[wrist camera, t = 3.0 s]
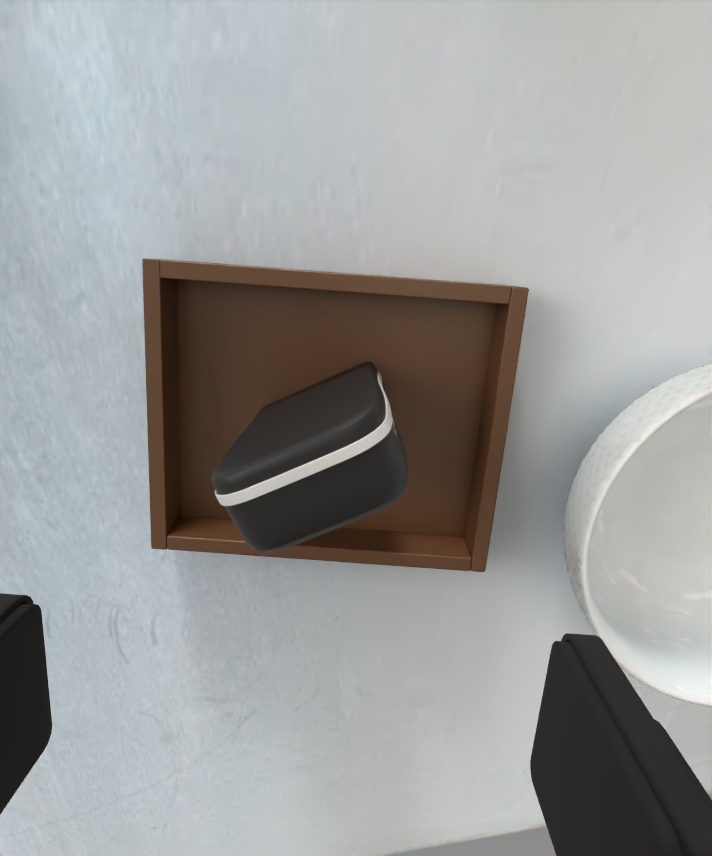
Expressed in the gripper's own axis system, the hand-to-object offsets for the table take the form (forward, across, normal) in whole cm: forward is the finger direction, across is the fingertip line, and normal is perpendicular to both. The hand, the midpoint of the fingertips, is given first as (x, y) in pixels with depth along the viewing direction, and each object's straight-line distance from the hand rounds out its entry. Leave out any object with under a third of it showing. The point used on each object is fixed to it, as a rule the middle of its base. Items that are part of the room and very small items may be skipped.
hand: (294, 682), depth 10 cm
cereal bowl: (+21, -19, +3) cm, 29 cm away
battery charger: (+20, +1, 0) cm, 20 cm away
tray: (+20, +1, 0) cm, 21 cm away
